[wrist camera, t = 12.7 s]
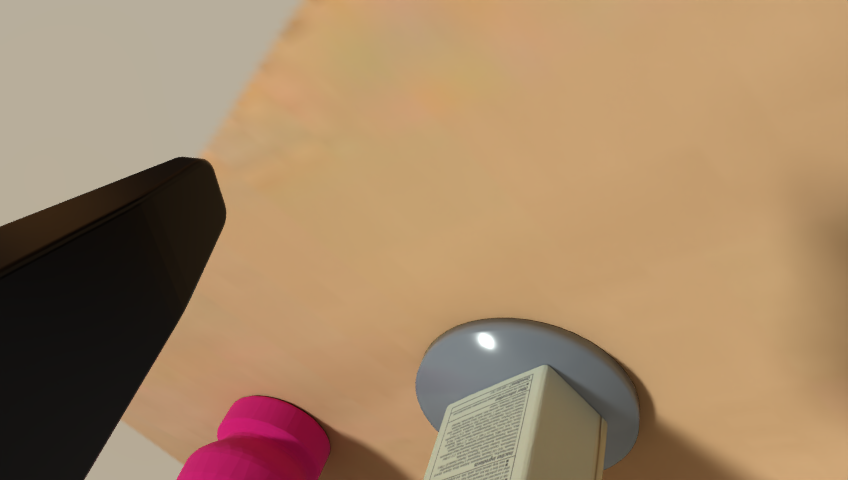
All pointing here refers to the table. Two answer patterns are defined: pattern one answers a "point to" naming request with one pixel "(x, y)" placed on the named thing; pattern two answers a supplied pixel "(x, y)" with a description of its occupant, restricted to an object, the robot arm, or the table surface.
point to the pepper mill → (261, 445)
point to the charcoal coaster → (520, 352)
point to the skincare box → (520, 433)
